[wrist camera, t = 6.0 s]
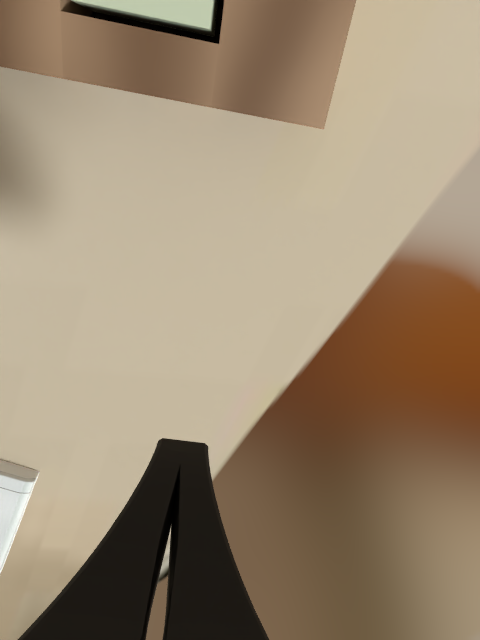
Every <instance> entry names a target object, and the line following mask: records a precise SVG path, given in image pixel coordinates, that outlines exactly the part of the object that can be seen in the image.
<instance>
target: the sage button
mask: <svg viewBox="0 0 480 640" xmlns="http://www.w3.org/2000/svg"><path fill="white" fill-rule="evenodd" d="M71 1H73V2H75V3H77V4H79V5H81V6H83V7H86V8H88V9H90V10H92V11H94V12H97V13H102V14H107V15H112V16H116V17H121V18H126V19H131V20H135V21H140V22H145V23H150V24H154V25H159V26H164V27H169V28H174V29H178V30H183V31H188V32H193V33H197V34H202V35H207V36H212V37H214V34H215V26H216V17H217V9H218V0H71Z"/></svg>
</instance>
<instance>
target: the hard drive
mask: <svg viewBox="0 0 480 640" xmlns="http://www.w3.org/2000/svg"><path fill="white" fill-rule="evenodd" d="M38 475H39V471H37V470H33V469H30V468H27V467H23V466H20V465H17V464H13V463H10V462H7V461H3V460H0V573H1V571H2V569H3V566H4V563H5V561H6V558H7V556H8V553H9V551H10V548H11V545H12V543H13V540H14V538H15V535H16V532H17V530H18V527H19V525H20V522H21V519H22V517H23V514H24V512H25V509H26V506H27V504H28V501H29V499H30V496H31V493H32V491H33V488H34V485H35V483H36V480H37V478H38Z"/></svg>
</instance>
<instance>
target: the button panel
mask: <svg viewBox="0 0 480 640" xmlns="http://www.w3.org/2000/svg"><path fill="white" fill-rule="evenodd" d="M355 3H356V0H224V8H223V16H222V24H221V32H220V40H219V44H216V43H211V42H206V41H202V40H197V39H192V38H187V37H183V36H178V35H173V34H168V33H163V32H159V31H154V30H149V29H144V28H139V27H135V26H130V25H125V24H120V23H115V22H111V21H106V20H101V19H96V18H93V12H92V10H90V9H88V8H86V7H83V6H81V5H79V4H77V3H75V2H73V1H71V0H0V66H1V67H6V68H11V69H16V70H21V71H27V72H32V73H37V74H42V75H47V76H52V77H57V78H63V79H68V80H73V81H78V82H83V83H88V84H93V85H99V86H104V87H109V88H114V89H119V90H124V91H129V92H135V93H140V94H145V95H150V96H155V97H160V98H165V99H171V100H176V101H181V102H186V103H191V104H196V105H201V106H207V107H212V108H217V109H222V110H227V111H232V112H237V113H243V114H248V115H253V116H258V117H263V118H268V119H273V120H279V121H284V122H289V123H294V124H299V125H304V126H309V127H315V128H320V129H324V126H325V122H326V118H327V114H328V110H329V106H330V102H331V98H332V94H333V90H334V86H335V82H336V78H337V74H338V71H339V67H340V63H341V59H342V55H343V51H344V47H345V43H346V39H347V35H348V31H349V27H350V23H351V19H352V15H353V11H354V7H355Z"/></svg>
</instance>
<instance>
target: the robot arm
mask: <svg viewBox="0 0 480 640" xmlns="http://www.w3.org/2000/svg"><path fill="white" fill-rule="evenodd" d="M171 524H172V525H171ZM170 528H171V541H170V556H169V573H168V589H167V606H166V616H165V627H164V634H163V640H269V638H268V637H267V634H266V632H265V630H264V628H263V626H262V624H261V622H260V620H259V618H258V615H257V613H256V611H255V609H254V607H253V605H252V603H251V600H250V598H249V596H248V593H247V591H246V588H245V586H244V584H243V581H242V579H241V576H240V573H239V571H238V568H237V566H236V563H235V561H234V558H233V555H232V552H231V549H230V546H229V543H228V540H227V537H226V534H225V530H224V527H223V524H222V521H221V517H220V513H219V509H218V505H217V501H216V498H215V493H214V489H213V484H212V478H211V473H210V466H209V457H208V446H207V445H206V444H205V443H198V442H189V441H181V440H173V439H165V438H162V439H161V440H159V441H158V444H157V447H156V449H155V452H154V454H153V456H152V459H151V461H150V463H149V465H148V467H147V469H146V471H145V473H144V475H143V477H142V478H141V480H140V482H139V484H138V485H137V487H136V489H135V490H134V492H133V494H132V496H131V497H130V499H129V501H128V502H127V504H126V505H125V507H124V509H123V510H122V512H121V513H120V515H119V516H118V518H117V519H116V520H115V522H114V523H113V525H112V526H111V528H110V529H109V531H108V532H107V534H106V535H105V537H104V538H103V539H102V541H101V542H100V544H99V545H98V546H97V548H96V549H95V550H94V552H93V553H92V554H91V556H90V557H89V558H88V559H87V561H86V562H85V563H84V565H83V566H82V567H81V568H80V570H79V571H78V572H77V573H76V575H75V576H74V577H73V578H72V579H71V581H70V582H69V583H68V584H67V585H66V587H65V588H64V589H63V590H62V592H61V593H60V594H59V595H58V596H57V597H56V598H55V600H54V601H53V602H52V603H51V604H50V605H49V607H48V608H47V609H46V610H45V611H44V612H43V613H42V614H41V615H40V616H39V617H38V619H37V620H36V621H35V622H34V623H33V624H32V625H31V626H30V627H29V628H28V629H27V630H26V631H25V633H24V634H23V635H22V636H21V637H20V638H19V639H18V640H145V639H146V633H147V627H148V622H149V617H150V612H151V607H152V603H153V599H154V595H155V590H156V587H157V582H158V578H159V574H160V570H161V566H162V562H163V557H164V553H165V549H166V545H167V541H168V536H169V532H170Z"/></svg>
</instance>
